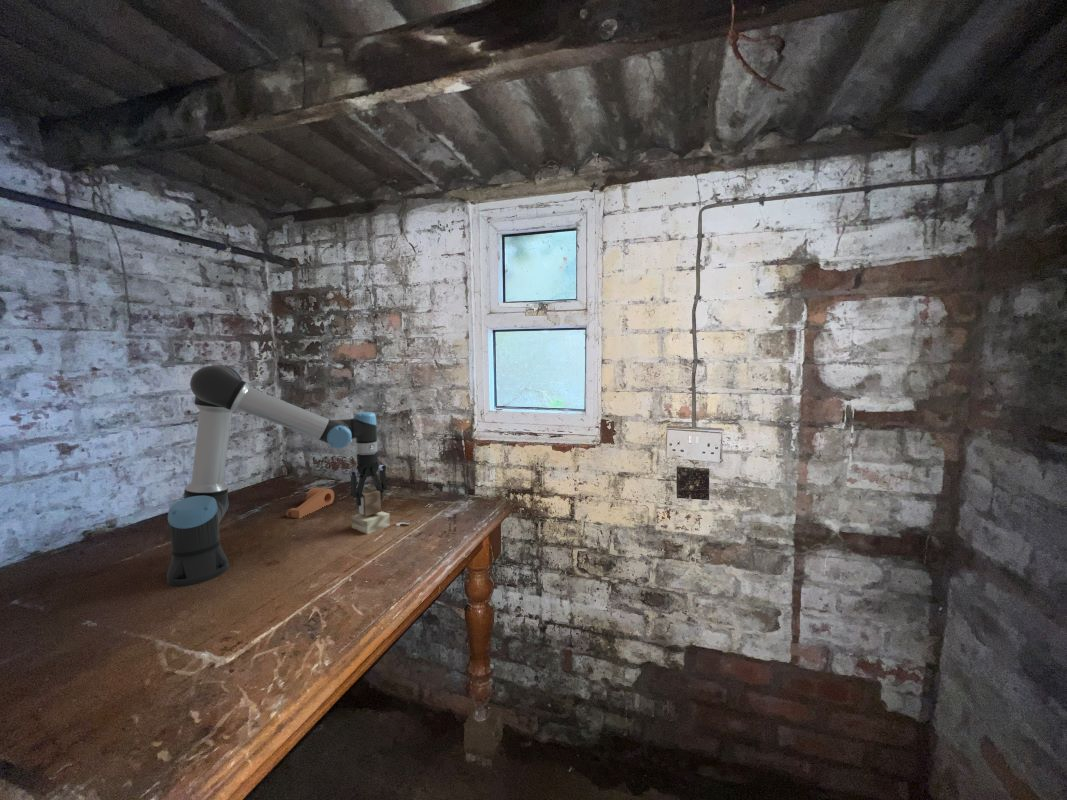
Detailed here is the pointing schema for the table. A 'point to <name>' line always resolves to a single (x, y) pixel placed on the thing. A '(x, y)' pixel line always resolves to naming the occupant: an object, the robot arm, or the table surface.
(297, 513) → the crank
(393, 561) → the table surface
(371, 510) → the walnut block
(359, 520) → the pale square block
